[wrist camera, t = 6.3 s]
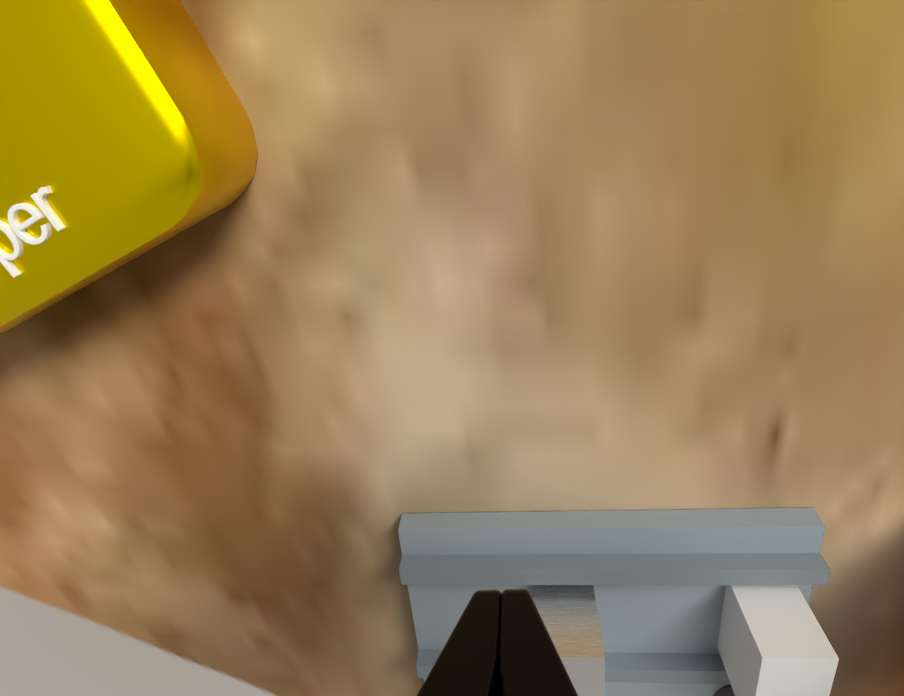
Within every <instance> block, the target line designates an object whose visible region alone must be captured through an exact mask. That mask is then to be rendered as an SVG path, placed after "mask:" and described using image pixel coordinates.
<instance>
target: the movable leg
mask: <svg viewBox="0 0 904 696" xmlns="http://www.w3.org/2000/svg"><path fill="white" fill-rule="evenodd" d="M532 596H533V601H534V603H535V605H536V607H537V609H538V612H539V614H540V616H541V618H542V620H543V622H544V624H545V626H546V629H547V631H548V633H549V635H550V637H551V639H552V641H553V643H554V645H555V648H556V650H557V652H558V654H559V656H560V658H561V660H562V662H563V665H564V667H565V669H566V671H567V673H568V675H569V677H570V679H571V682H572V684H573V686H574V688H575V690H576V692H577V694H578V696H605V653H604V647H603V641H602V635H601V629H600V623H599V617H598V611H597V605H596V599H595V593H594V587H593V585H532Z"/></svg>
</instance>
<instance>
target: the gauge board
mask: <svg viewBox="0 0 904 696" xmlns="http://www.w3.org/2000/svg"><path fill="white" fill-rule="evenodd" d="M824 531H825V525H824V523H823V522H822V520H821V519H820V517H819V516H818V515H817V513H816V512H815V510H814V509H813V508H755V509H685V510H614V511H544V512H473V513H403V514H402V516H401V520H400V524H399V528H398V534H399V540H400V546H401V552H402V558H401V562H400V567H399V575H400V580H401V585H407V586H408V592H409V598H410V604H411V609H412V615H413V621H414V627H415V632H416V638H417V644H418V655H417V662H416V669H417V675H418V678H423V679H424V682H425V680H426V679H427V677H428V675H429V673H430V671H431V669H432V668H433V666H434V664H435V662H436V660H437V659H438V657H439V655H440V653H441V651H442V650H443V648H444V646H445V644H446V642H447V641H448V639H449V637H450V635H451V633H452V632H453V630H454V628H455V626H456V624H457V622H458V621H459V619H460V617H461V615H462V613H463V612H464V610H465V608H466V606H467V604H468V603H469V601H470V599H471V597H472V595H473V594H474V593H475V592H476V591H477V590H495V589H497V590H499V591H500V592H501V593H502V592H503V591H504V590H505V589H526V590H528V591H529V593H530V595H531V597H532V599H533V596H532V585H593V587H594V593H595V599H596V605H597V611H598V617H599V623H600V629H601V635H602V641H603V647H604V653H605V696H829V695H830V692H831V688H832V684H833V680H834V677H835V673H836V669H837V665H838V662H839V658H838V656H837V654H836V653H835V651H834V649H833V647H832V646H831V644H830V642H829V640H828V639H827V637H826V635H825V633H824V632H823V630H822V628H821V626H820V624H819V623H818V621H817V619H816V617H815V616H814V614H813V612H812V610H811V609H810V607H809V605H808V603H809V598H810V594H811V589H812V585H827V581H828V577H829V573H830V568H829V566H828V565H827V563H826V562H825V560H824V559H823V557H822V556H821V554H820V549H821V544H822V540H823V535H824Z"/></svg>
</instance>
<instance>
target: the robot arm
mask: <svg viewBox="0 0 904 696" xmlns="http://www.w3.org/2000/svg"><path fill="white" fill-rule="evenodd" d="M417 696H578V694H577V692H576V690H575V688H574V686H573V684H572V682H571V679H570V677H569V675H568V673H567V671H566V669H565V667H564V665H563V662H562V660H561V658H560V656H559V654H558V652H557V650H556V648H555V645H554V643H553V641H552V639H551V637H550V635H549V633H548V631H547V629H546V626H545V624H544V622H543V620H542V618H541V616H540V614H539V612H538V609H537V607H536V605H535V603H534V601H533V599H532V597H531V595H530V593H529V591H528V590H526V589H505V590H504V591H503V592H502V593H501V592H500V591H499V590H497V589H495V590H477V591H476V592H475V593H474V594H473V595H472V597H471V599H470V601H469V603H468V604H467V606H466V608H465V610H464V612H463V613H462V615H461V617H460V619H459V621H458V622H457V624H456V626H455V628H454V630H453V632H452V633H451V635H450V637H449V639H448V641H447V642H446V644H445V646H444V648H443V650H442V651H441V653H440V655H439V657H438V659H437V660H436V662H435V664H434V666H433V668H432V669H431V671H430V673H429V675H428V677H427V679H426V680H425V682H424V684H423V686H422V688H421V689H420V691H419V693H418V695H417Z"/></svg>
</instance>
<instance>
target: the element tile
mask: <svg viewBox="0 0 904 696" xmlns="http://www.w3.org/2000/svg"><path fill="white" fill-rule="evenodd" d="M257 157H258V151H257V146H256V141H255V136H254V131H253V128H252V125H251V123H250V120H249V118H248V116H247V113H246V111H245V109H244V107H243V105H242V104H241V102H240V100H239V99H238V97H237V95H236V94H235V92H234V90H233V89H232V87H231V85H230V84H229V82H228V80H227V79H226V77H225V75H224V74H223V72H222V70H221V69H220V67H219V65H218V64H217V62H216V60H215V59H214V57H213V55H212V53H211V52H210V50H209V48H208V47H207V45H206V43H205V42H204V40H203V38H202V37H201V35H200V33H199V32H198V30H197V28H196V27H195V25H194V23H193V22H192V20H191V18H190V17H189V15H188V13H187V12H186V10H185V8H184V6H183V5H182V3H181V1H180V0H0V334H1V333H3V332H5V331H7V330H9V329H11V328H13V327H15V326H17V325H18V324H20V323H22V322H24V321H25V320H27V319H29V318H31V317H32V316H34V315H36V314H38V313H39V312H41V311H43V310H45V309H47V308H48V307H50V306H52V305H54V304H55V303H57V302H59V301H61V300H62V299H64V298H66V297H68V296H69V295H71V294H73V293H75V292H76V291H78V290H80V289H82V288H84V287H85V286H87V285H89V284H91V283H92V282H94V281H96V280H98V279H99V278H101V277H103V276H105V275H106V274H108V273H110V272H112V271H113V270H115V269H117V268H119V267H121V266H122V265H124V264H126V263H128V262H129V261H131V260H133V259H135V258H136V257H138V256H140V255H142V254H143V253H145V252H147V251H149V250H151V249H152V248H154V247H156V246H158V245H159V244H161V243H163V242H165V241H166V240H168V239H170V238H172V237H173V236H175V235H177V234H179V233H180V232H182V231H184V230H186V229H188V228H189V227H191V226H193V225H195V224H196V223H198V222H200V221H202V220H203V219H205V218H207V217H209V216H210V215H212V214H214V213H216V212H218V211H219V210H221V209H223V208H225V207H226V206H228V205H230V204H231V203H232V202H233V201H235V200H236V199H237V198H238V197H239V196H240V195H242V194H243V192H244V191H245V189H246V188H247V186H248V185H249V183H250V181H251V180H252V178H253V177H254V175H255V169H256V163H257Z"/></svg>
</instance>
